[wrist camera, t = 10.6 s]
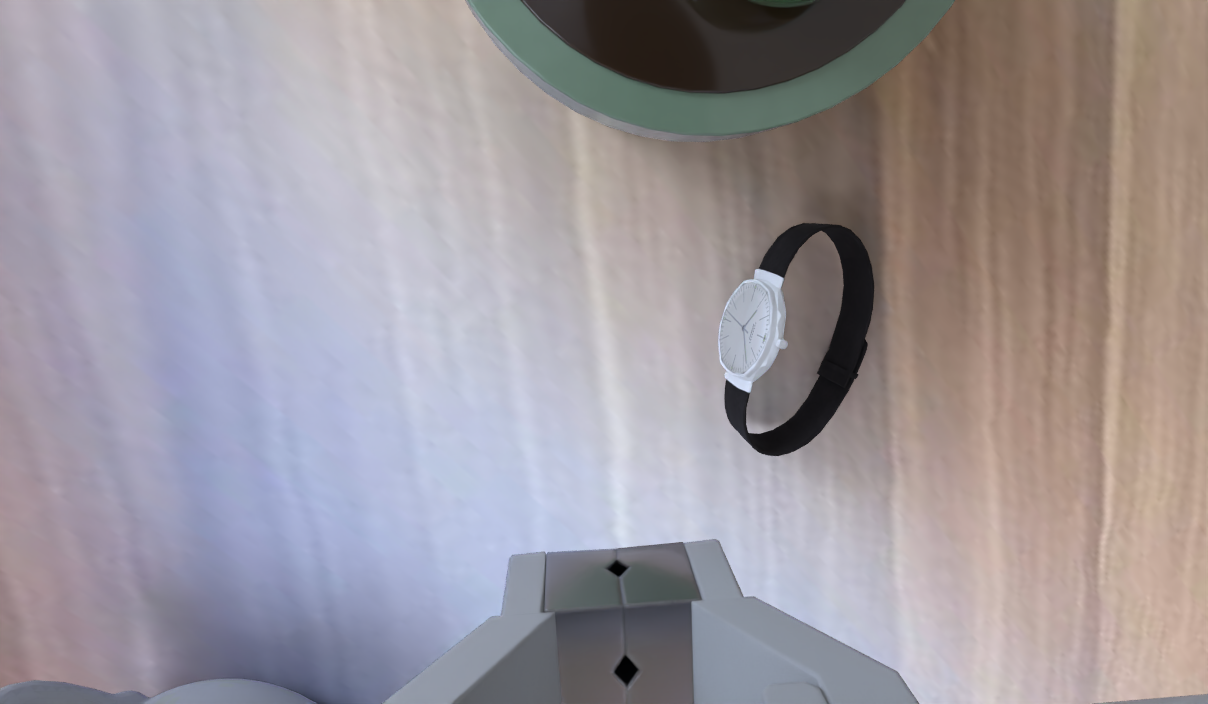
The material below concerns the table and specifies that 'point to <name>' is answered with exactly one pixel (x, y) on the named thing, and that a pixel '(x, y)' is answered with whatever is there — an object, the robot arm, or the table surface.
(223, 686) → the teacup
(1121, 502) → the table surface
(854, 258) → the watch
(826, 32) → the plant pot
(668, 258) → the table surface
